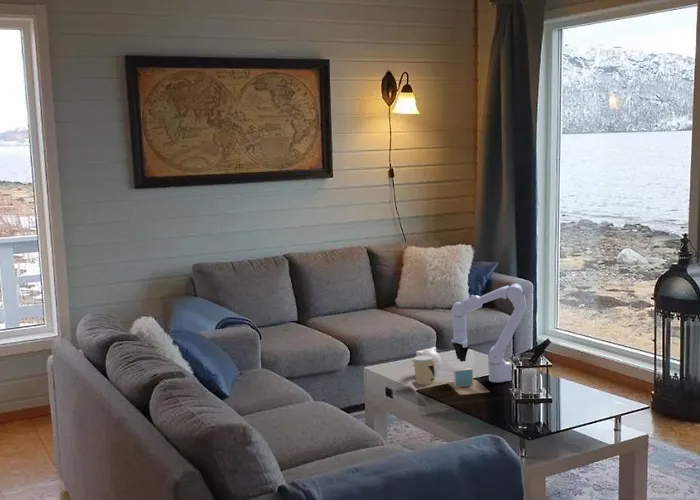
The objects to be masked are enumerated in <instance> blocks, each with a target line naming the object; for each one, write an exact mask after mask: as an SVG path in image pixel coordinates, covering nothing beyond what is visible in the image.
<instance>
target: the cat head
mask: <svg viewBox="0 0 700 500" xmlns="http://www.w3.org/2000/svg"><path fill="white" fill-rule="evenodd" d="M422 355H430V356H433V357H434V358H435V360H434V369H435V375H436V374H438V372H439V371H440V369H441V368H442V358H441V356H440V354H439V352H438V351H437V347H436V346H433V347H430V348H425V349H422V350H416V351H415V357H417V356H422ZM411 363H414V361H413V359H412V360H411V361H410V362H409V364H411ZM411 367H414V364H412V365H411V366H410V368H411Z"/></svg>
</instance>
